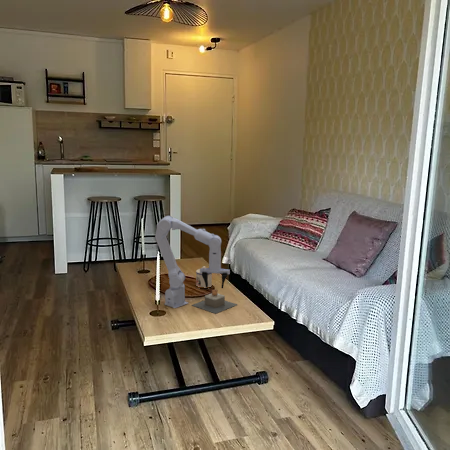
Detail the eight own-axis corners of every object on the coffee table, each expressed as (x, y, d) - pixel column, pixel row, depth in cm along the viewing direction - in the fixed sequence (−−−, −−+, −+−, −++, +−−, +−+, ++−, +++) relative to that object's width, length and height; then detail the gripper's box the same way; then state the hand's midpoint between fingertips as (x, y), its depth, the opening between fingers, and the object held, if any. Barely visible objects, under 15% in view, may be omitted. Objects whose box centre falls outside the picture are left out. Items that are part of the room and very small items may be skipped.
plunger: (214, 304, 221) (215, 292, 220) (207, 302, 224) (207, 290, 223) (221, 301, 224) (221, 290, 223) (214, 299, 228) (214, 288, 227)
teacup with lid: (193, 285, 256) (193, 265, 254) (209, 283, 259) (209, 263, 257) (199, 291, 245) (199, 270, 243) (215, 290, 248) (215, 269, 246)
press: (215, 313, 213) (215, 303, 213) (191, 305, 224) (191, 296, 223) (237, 305, 225) (237, 295, 224) (213, 297, 236) (213, 288, 235)
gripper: (199, 262, 217) (198, 289, 220) (229, 263, 216) (228, 290, 218) (201, 258, 224) (200, 284, 227) (230, 259, 223) (229, 286, 225)
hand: (214, 287), depth 223 cm, fingers open, 7 cm apart
